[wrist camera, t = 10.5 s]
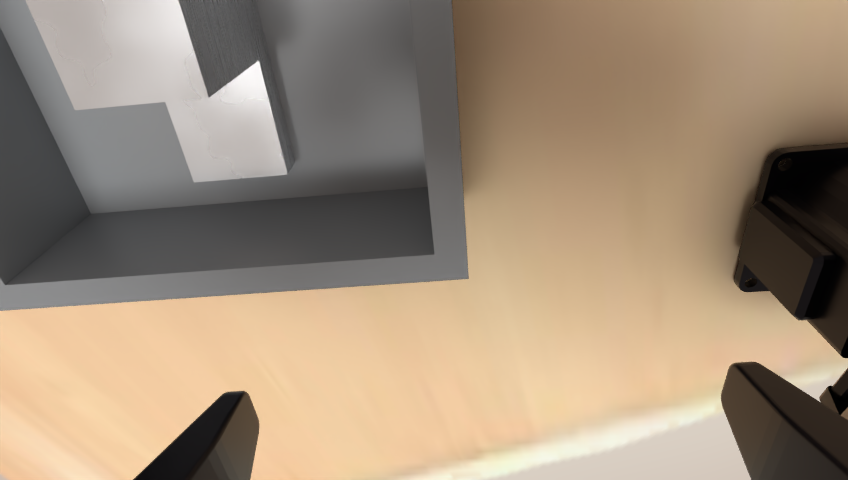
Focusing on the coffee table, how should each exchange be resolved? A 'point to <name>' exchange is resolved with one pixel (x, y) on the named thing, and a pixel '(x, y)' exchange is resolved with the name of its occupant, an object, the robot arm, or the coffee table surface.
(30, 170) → the open box
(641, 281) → the coffee table surface
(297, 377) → the coffee table surface
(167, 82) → the grey stepped block
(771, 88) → the coffee table surface
